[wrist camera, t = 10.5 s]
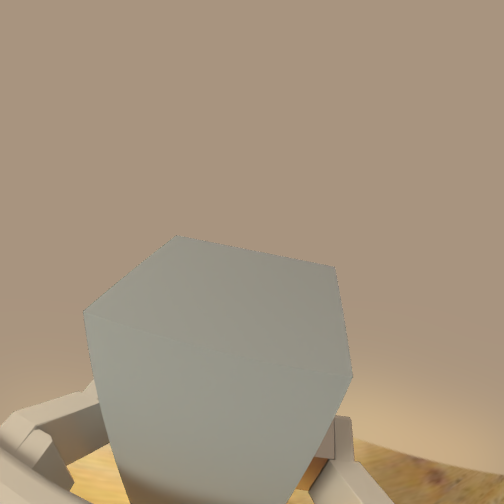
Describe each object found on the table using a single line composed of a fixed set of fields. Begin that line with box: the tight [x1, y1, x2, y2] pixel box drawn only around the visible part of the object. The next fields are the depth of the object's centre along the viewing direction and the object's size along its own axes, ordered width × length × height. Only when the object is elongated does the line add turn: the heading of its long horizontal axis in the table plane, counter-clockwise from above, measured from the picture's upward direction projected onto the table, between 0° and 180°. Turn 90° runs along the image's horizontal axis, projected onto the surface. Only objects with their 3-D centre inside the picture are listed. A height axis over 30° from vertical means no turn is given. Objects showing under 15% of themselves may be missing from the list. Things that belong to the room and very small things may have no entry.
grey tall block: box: [83, 235, 353, 504], centre depth 8 cm, size 4×4×10 cm
